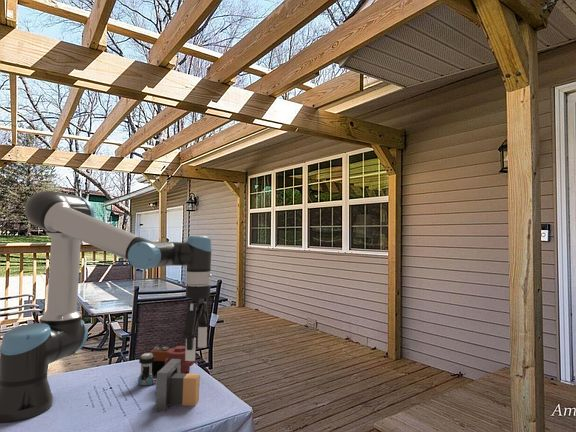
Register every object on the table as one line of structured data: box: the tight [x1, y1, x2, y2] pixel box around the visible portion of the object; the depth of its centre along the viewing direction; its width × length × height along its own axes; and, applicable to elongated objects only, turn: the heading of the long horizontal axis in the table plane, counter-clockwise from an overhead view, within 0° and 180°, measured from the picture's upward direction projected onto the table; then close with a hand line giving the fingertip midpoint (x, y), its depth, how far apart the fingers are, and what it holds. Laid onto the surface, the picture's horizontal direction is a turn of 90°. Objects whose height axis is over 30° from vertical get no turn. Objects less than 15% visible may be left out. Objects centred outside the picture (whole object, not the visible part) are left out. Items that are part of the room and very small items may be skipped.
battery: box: [149, 346, 171, 377], centre depth 137 cm, size 4×7×10 cm, turn 88°
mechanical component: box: [165, 345, 195, 374], centre depth 130 cm, size 12×10×10 cm
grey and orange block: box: [170, 373, 201, 407], centre depth 115 cm, size 12×4×8 cm, turn 89°
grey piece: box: [154, 359, 181, 413], centre depth 115 cm, size 3×13×11 cm, turn 179°
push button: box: [137, 352, 157, 386], centre depth 128 cm, size 7×5×10 cm
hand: (196, 353), depth 115 cm, fingers open, 13 cm apart
